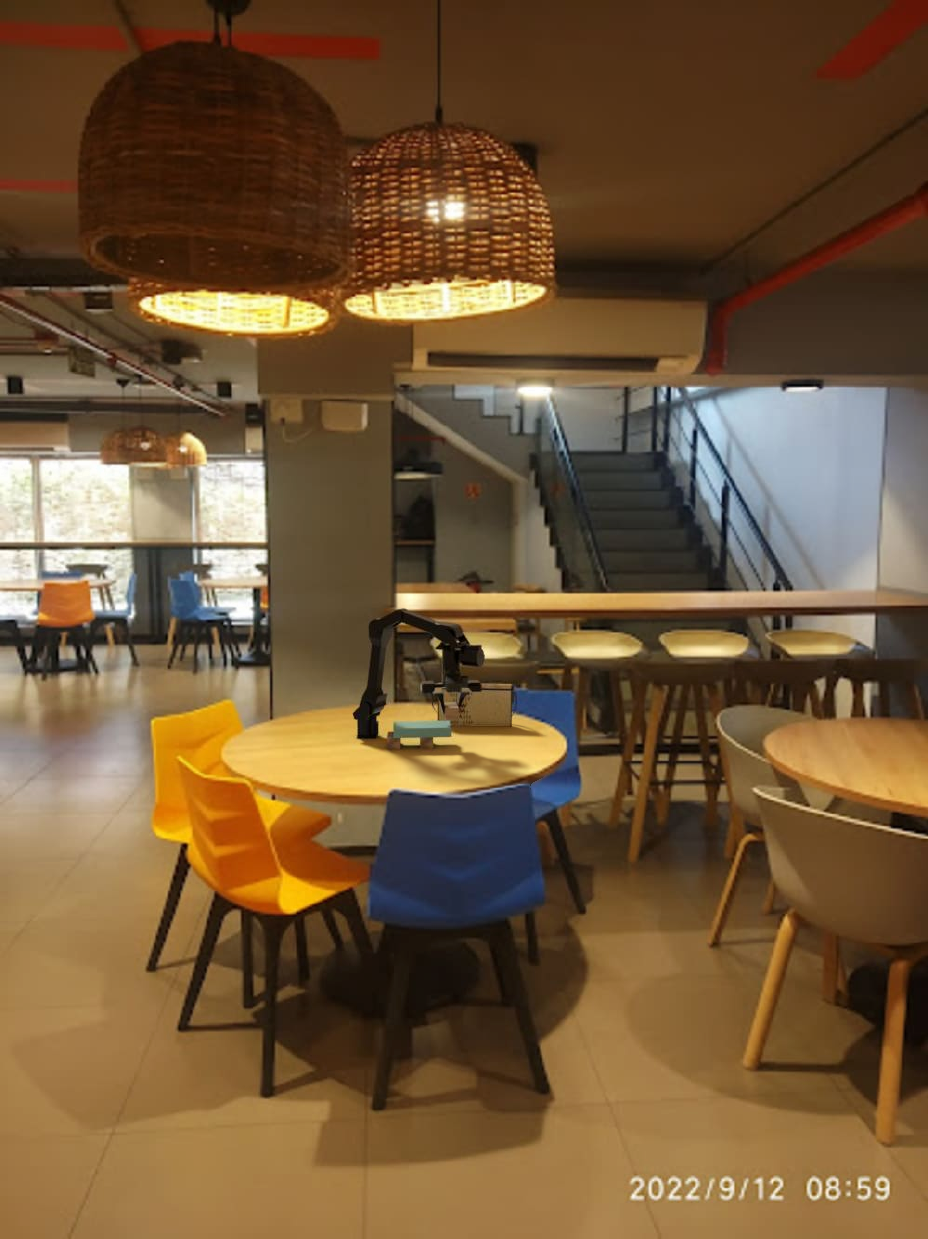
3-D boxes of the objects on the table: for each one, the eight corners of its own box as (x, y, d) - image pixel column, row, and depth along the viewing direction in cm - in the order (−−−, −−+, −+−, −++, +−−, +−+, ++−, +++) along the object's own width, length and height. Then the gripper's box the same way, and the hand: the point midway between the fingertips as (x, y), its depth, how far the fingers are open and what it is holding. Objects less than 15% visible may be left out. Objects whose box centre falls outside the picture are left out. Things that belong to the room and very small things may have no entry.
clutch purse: (517, 722, 313) (517, 680, 311) (516, 727, 306) (517, 685, 304) (432, 721, 315) (432, 679, 313) (430, 726, 308) (430, 683, 306)
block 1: (386, 750, 277) (386, 738, 277) (388, 743, 285) (387, 731, 285) (399, 750, 277) (399, 738, 277) (400, 743, 285) (400, 731, 285)
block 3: (442, 714, 283) (442, 702, 282) (455, 713, 283) (455, 702, 283) (446, 720, 275) (446, 708, 274) (459, 719, 275) (459, 708, 275)
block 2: (420, 749, 278) (420, 737, 278) (420, 742, 286) (420, 730, 285) (433, 749, 278) (433, 737, 278) (432, 742, 286) (432, 730, 286)
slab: (393, 738, 277) (393, 728, 276) (393, 730, 285) (393, 721, 285) (451, 737, 278) (451, 727, 278) (449, 729, 287) (449, 720, 286)
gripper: (424, 669, 268) (423, 720, 270) (485, 668, 270) (484, 718, 273) (420, 663, 279) (420, 712, 281) (479, 662, 281) (478, 710, 283)
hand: (450, 713), depth 279 cm, fingers closed on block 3, 4 cm apart
